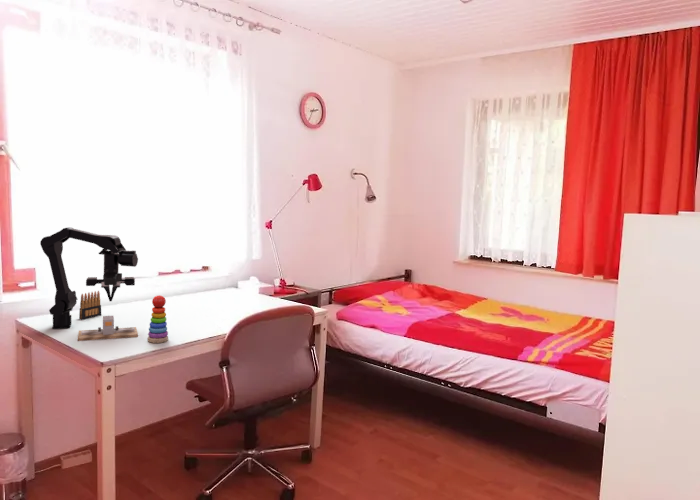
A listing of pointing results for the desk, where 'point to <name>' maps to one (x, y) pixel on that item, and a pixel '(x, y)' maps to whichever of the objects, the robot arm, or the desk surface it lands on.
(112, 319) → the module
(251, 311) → the desk surface
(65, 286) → the robot arm
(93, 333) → the rail base
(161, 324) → the stacking toy
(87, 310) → the ammunition clip
